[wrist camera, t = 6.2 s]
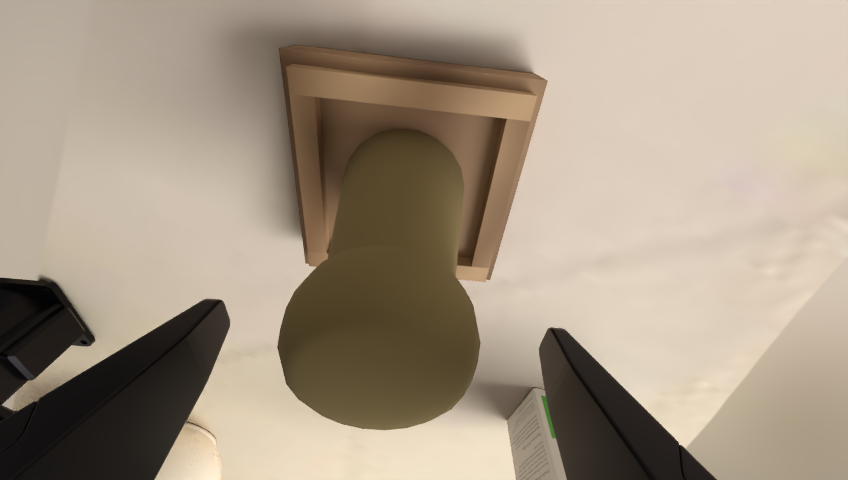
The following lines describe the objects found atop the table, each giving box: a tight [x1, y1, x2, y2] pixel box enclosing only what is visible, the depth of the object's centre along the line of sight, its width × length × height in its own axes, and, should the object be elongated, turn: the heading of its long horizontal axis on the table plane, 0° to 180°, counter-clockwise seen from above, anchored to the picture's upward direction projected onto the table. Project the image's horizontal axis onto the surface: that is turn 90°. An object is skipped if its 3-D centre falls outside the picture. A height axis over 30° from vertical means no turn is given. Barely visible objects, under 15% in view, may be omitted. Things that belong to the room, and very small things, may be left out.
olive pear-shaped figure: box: [278, 129, 480, 430], centre depth 12 cm, size 6×6×11 cm
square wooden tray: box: [279, 45, 547, 282], centre depth 17 cm, size 11×11×3 cm
